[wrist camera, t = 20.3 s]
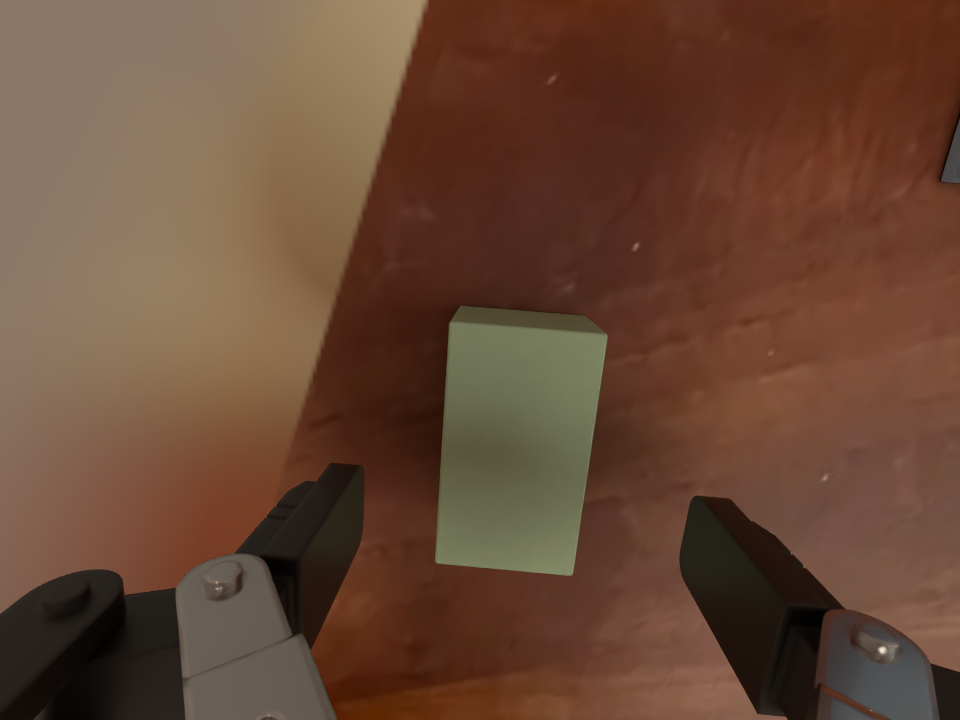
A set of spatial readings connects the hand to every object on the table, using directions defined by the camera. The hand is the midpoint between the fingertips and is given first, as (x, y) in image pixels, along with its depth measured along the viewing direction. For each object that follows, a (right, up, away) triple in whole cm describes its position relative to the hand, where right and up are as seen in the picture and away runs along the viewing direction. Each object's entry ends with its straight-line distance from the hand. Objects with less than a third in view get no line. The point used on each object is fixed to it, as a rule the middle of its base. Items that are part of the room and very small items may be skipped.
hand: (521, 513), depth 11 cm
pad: (0, +2, +6) cm, 6 cm away
